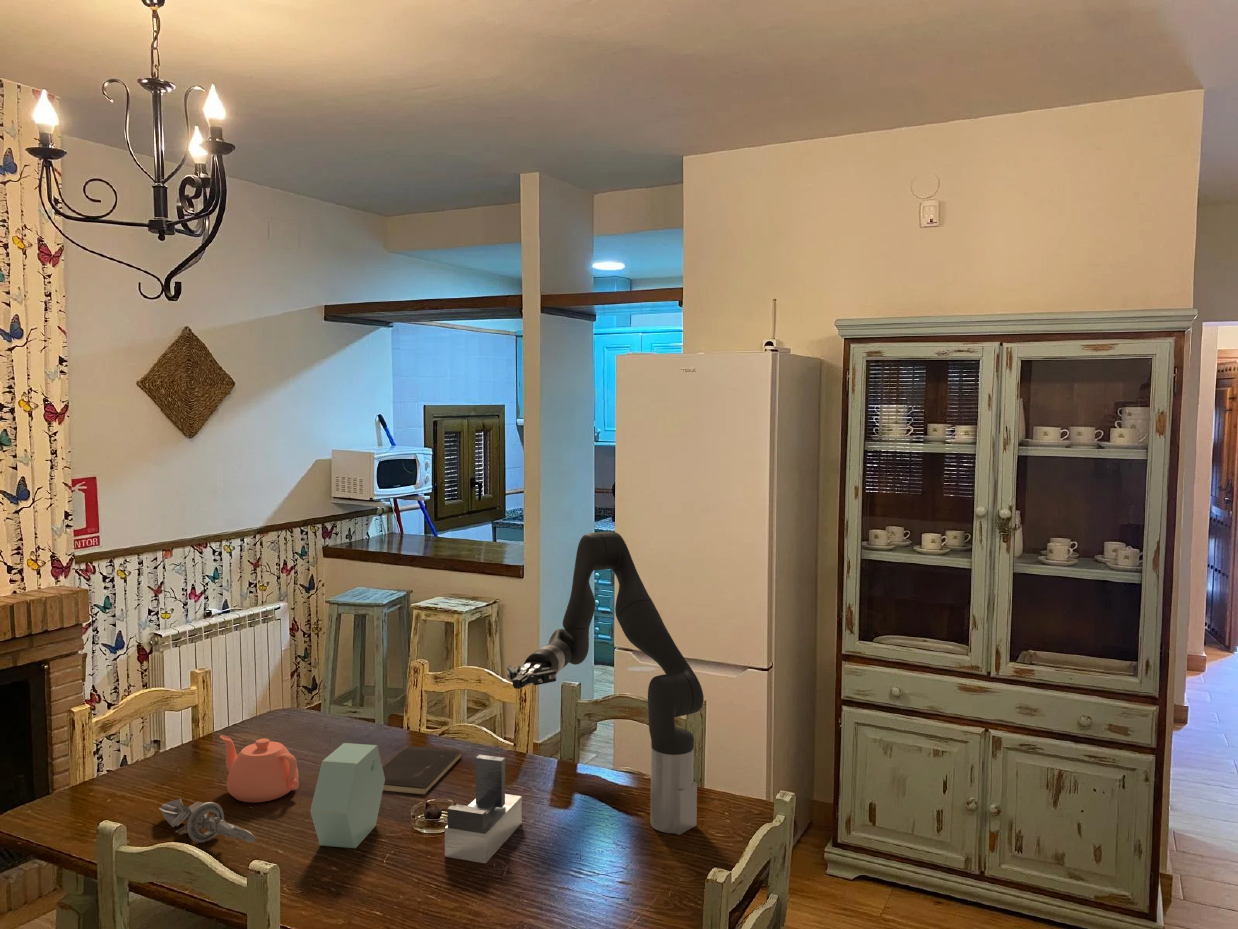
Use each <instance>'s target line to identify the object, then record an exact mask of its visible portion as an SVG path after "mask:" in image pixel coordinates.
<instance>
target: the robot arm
mask: <svg viewBox="0 0 1238 929" xmlns="http://www.w3.org/2000/svg"><path fill="white" fill-rule="evenodd" d="M574 561H575V562H574V568H573V575H572V576H573V577H572V583H571V584H572V585H571V593H570V595H569V596H570V597H569V599H568V604H567V607H566V609H565V613H564V615H563V620H562V627H563V628H558V629H556V630H554V632H553V633H552V634H551V636H550V638H549V641H548V643H547V644H546V645H545V646H542V647H540V648H539V649H537V650H535V651H534V652H532V653H531V654H529V655H527V656H528V657H526V659H525V661H524V662H523V664H520V665H518V667H516V666H513V665H511V664H510V665H507V668H506V671H507V674H506V675H507V678H508V679H509V680H510V681H511V683H512V687H513V689H517V690H521V689H523V688H525V687H526V686H531V685H534V686H539V685H543V684H549V683H555V682H557V675H558V674H559V673H560V672H561V670H563V669H564V668H565V667H566V666H567V665H569V664H571V665H575V666H576V665H580V664H581V663H583V662H584V661H585V660H586V658H587V657H588V653H589V648H590V637H589V636H590V632H589V631H590V627H591V623H592V620H593V617H594V614H595V611H596V599H595V596H594V592H593V590H592V588H591V584H590V579H591V576H592V575H593V572H594V571H604V570H605V571H607V570H611V571H612V572H613V573H614V575H615V576H616V579H617V583H618V591H617V596H616V600H615V608H614V611H615V617H616V619H617V621H618V622H617V623H618V624H619V626H620V627H621V630H622V632H623V634H624V635H625V638H627V640H628V641H629V642H630V643H631V645H634V646H635V648H637V650H639V651H641V652H642V653H643V654H645V655H646V656H647V657H649V658H650V659H652V660H653V661H654V662H656V663H657V664H658V665H659V667H660V668H661V669H662V671H664V673H665V674H660V675H655V676H654V677H652V678H651V679H650V682H649V683H648V688H647V689H648V690H647V708H648V710H647V711H648V712H647V713H648V731H649V735H650V740H651V741H650V742H651V743H650V745H651V746H650V747H651V748H650V756H651V757H650V825H651V827H652V828H653V829H655V830H657V831H658V832H662V833H666V834H676V835H679V836H680V835H682V834H684V833H686V832H688V831H689V830H691V829H692V828H695V827H696V826H698V824H697V818H698V816H697V814H698V813H697V812H698V811H697V810H698V783H697V782H695V781H694V758H695V756H694V754H695V752H694V750H695V748H694V747H695V737H694V735H693V733H692V732H691V731H689V730H688V729H685V728H683V727H679V726H676V723H675V722H676V721H675V718H678V717H682V716H683V717H684V716H688V715H693V714H695V713H698V712H699V711H701V709H702V708H703V706H704V697H705V696H704V692H703V687H702V685H701V683H700V681H699V678H698V676H697V675H696V673H695V671H694V670H693V669H692V667H691V666H690V664H689V663H688V662H687V660H686V658H685V657H684V655H683V654H682V653H681V651H680V649H679V648H678V646H677V645H676V643H675V641H674V639H673V638H672V636H671V634H670V632H669V631H668V629H667V627H666V625H665V623H664V621H663V619H662V617H661V614H660V613H659V611H658V609H657V607H656V606H655V603H654V601H653V600H652V598H651V596H650V595H649V593H648V591H647V589H646V587H645V586H644V583H643V581H642V579H641V577H640V575H639V573H638V571H637V568H636V566H635V563H634V561H633V559H632V556H631V553H630V551H629V548H628V546H627V543H626V542H625V540H624V538H623V537H622V535H621V534H620V533H617V532H615V531H601V532H600V531H598V532H589V533H585V534H584V535H582V537H581V538H580V540H579V542H578V545H577V549H576V555H575V560H574Z"/></svg>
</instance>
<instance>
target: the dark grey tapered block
mask: <svg viewBox="0 0 1238 929" xmlns="http://www.w3.org/2000/svg"><path fill="white" fill-rule="evenodd" d="M474 760H475V764H474V765H475V799H476V804H475V805H474V806H473V807H478V808H484V809H491V811H492V810H493V809H494V808H495V807H501V808H502V807H503V806H504V805H505V794H506V758H505V757H501V756H494V755H493V756H492V755H485V754H478V755H477V756H476V757H475V759H474Z"/></svg>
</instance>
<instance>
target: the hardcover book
mask: <svg viewBox="0 0 1238 929" xmlns="http://www.w3.org/2000/svg"><path fill="white" fill-rule="evenodd" d="M462 753H463V750H461V749H451V748H450V749H448V748H437V747H429V746H428V747H425V746H413V745H405V746H404V747H402V748H401V750H399V751H398V752H397V753H396V754H394V756H393V757H391V758H389V760H388V761H387V762H385V763H384V764H382V768H383V772H384V776H385V783H384V788H383V791H387V792H399V793H407V794H408V793H409V794H418V795H425V794H427V792H428V791H429V790H430V789H431V788H432V787H433V786H434V785H435V784H436V783H437V782H439V780H440V779H441V778H442V777H443V776H444V775H445V774H446V773H447V772H448V771H449V770H450V769H451V768H452V767H453V766H454V765H455V764H456V762H457V761H458V760H459V759H460V758H461V755H462Z"/></svg>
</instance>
